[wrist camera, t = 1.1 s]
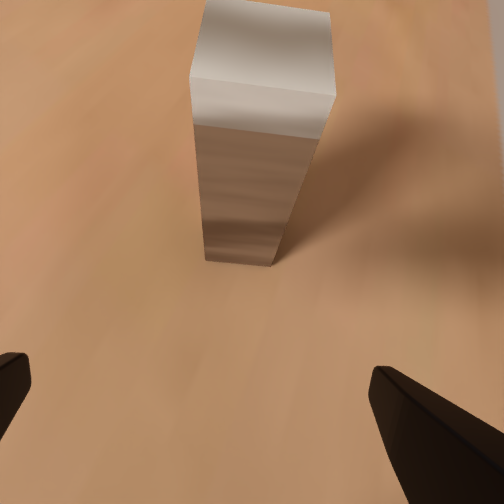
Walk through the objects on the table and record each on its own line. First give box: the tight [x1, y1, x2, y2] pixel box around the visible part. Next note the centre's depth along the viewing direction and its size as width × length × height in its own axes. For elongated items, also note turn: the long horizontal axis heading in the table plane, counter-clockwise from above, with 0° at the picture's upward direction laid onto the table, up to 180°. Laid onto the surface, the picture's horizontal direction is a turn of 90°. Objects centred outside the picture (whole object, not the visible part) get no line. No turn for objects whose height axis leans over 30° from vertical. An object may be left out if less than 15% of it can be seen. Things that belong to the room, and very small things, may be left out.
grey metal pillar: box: [189, 0, 336, 267], centre depth 19 cm, size 5×5×15 cm
